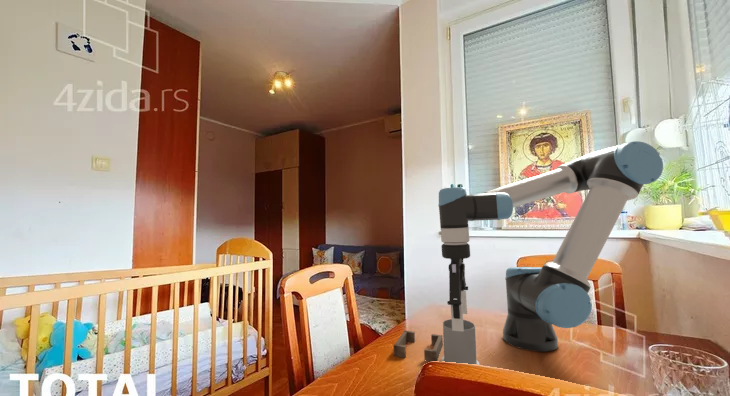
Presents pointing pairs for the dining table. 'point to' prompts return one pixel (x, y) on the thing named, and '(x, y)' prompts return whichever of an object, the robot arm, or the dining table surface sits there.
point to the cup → (459, 343)
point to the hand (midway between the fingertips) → (460, 321)
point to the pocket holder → (410, 337)
